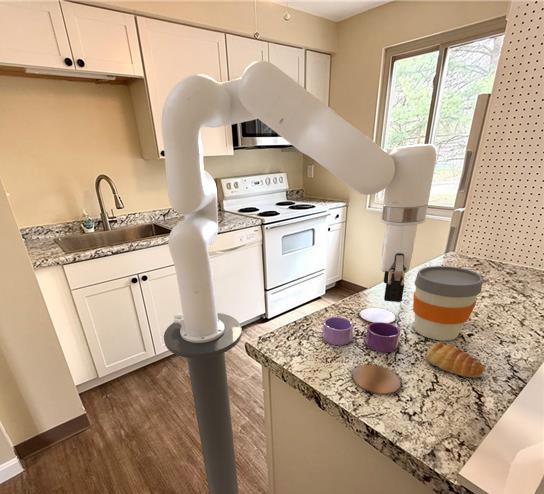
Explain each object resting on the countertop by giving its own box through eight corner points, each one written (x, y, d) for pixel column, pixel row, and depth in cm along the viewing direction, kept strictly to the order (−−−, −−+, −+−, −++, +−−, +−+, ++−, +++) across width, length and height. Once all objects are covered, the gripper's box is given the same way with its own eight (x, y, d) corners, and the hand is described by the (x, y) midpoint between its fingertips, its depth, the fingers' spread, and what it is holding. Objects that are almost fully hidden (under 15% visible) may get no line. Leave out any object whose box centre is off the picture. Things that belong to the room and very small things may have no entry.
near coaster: (351, 388, 63) (351, 386, 63) (354, 363, 70) (354, 361, 69) (401, 399, 59) (401, 397, 59) (399, 371, 66) (399, 369, 66)
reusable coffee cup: (398, 318, 84) (407, 266, 78) (450, 318, 82) (464, 264, 75) (418, 344, 73) (431, 286, 67) (479, 345, 71) (498, 284, 64)
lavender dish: (321, 342, 78) (321, 328, 76) (324, 329, 83) (325, 315, 82) (350, 347, 75) (351, 332, 73) (352, 332, 80) (353, 318, 79)
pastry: (488, 370, 63) (493, 355, 61) (473, 385, 60) (478, 369, 58) (436, 350, 70) (440, 336, 69) (421, 362, 67) (424, 348, 66)
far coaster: (358, 321, 85) (358, 320, 85) (360, 307, 92) (360, 306, 92) (395, 326, 81) (396, 325, 81) (394, 311, 88) (394, 310, 88)
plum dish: (364, 349, 74) (366, 334, 72) (366, 334, 79) (367, 320, 77) (398, 354, 71) (400, 339, 69) (396, 339, 76) (399, 324, 74)
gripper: (381, 206, 70) (373, 276, 77) (382, 224, 56) (372, 307, 64) (421, 205, 67) (408, 278, 74) (432, 223, 53) (415, 311, 60)
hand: (391, 291), depth 69 cm, fingers open, 9 cm apart
